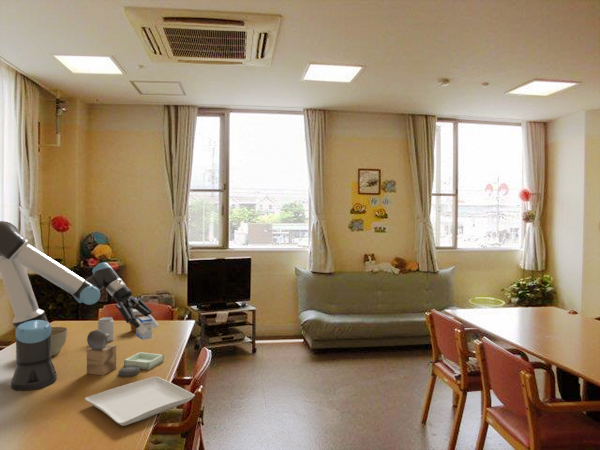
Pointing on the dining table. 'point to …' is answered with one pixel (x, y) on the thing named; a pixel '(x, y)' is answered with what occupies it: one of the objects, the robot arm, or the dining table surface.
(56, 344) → the planter bowl
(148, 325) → the medicine box
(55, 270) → the robot arm
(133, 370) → the dark grey round puck
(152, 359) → the tray
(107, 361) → the pulley stand
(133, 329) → the disposable coffee cup
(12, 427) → the dining table surface
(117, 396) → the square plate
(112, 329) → the can
